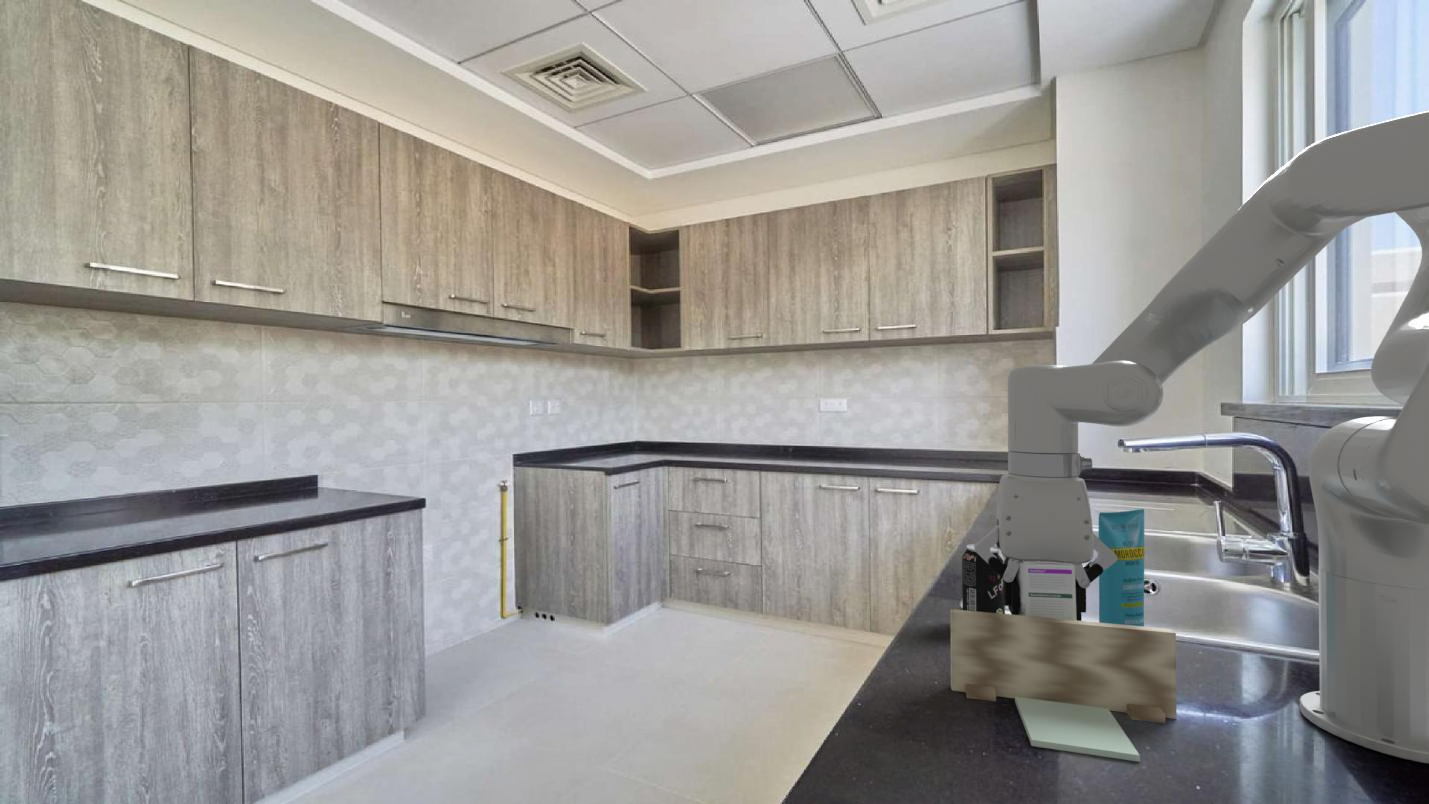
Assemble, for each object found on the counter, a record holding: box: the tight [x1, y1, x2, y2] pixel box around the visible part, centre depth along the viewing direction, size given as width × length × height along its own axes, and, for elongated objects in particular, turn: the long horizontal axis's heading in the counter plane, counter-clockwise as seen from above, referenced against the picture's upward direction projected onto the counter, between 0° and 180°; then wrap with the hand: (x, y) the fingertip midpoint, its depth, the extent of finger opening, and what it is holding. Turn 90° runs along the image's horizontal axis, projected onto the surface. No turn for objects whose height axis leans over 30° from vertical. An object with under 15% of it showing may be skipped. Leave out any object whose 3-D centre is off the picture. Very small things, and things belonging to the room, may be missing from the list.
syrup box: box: [1015, 560, 1077, 620], centre depth 73 cm, size 6×6×14 cm
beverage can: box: [961, 543, 1006, 614], centre depth 89 cm, size 6×6×12 cm
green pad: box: [1014, 697, 1141, 763], centre depth 61 cm, size 9×9×1 cm
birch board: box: [949, 608, 1178, 724], centre depth 67 cm, size 22×4×9 cm, turn 73°
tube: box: [1098, 508, 1146, 627], centre depth 79 cm, size 7×5×19 cm, turn 111°
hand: (1043, 613), depth 73 cm, fingers closed on syrup box, 6 cm apart
